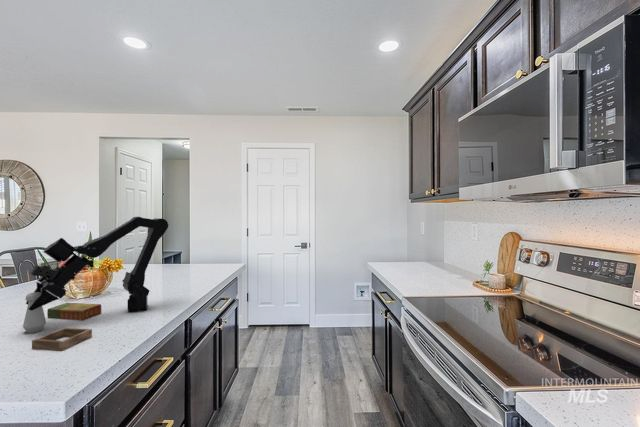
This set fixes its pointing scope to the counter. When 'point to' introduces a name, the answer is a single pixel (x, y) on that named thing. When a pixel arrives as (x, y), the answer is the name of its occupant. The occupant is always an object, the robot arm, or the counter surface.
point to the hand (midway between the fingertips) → (28, 307)
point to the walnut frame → (51, 339)
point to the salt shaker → (34, 315)
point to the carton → (74, 311)
